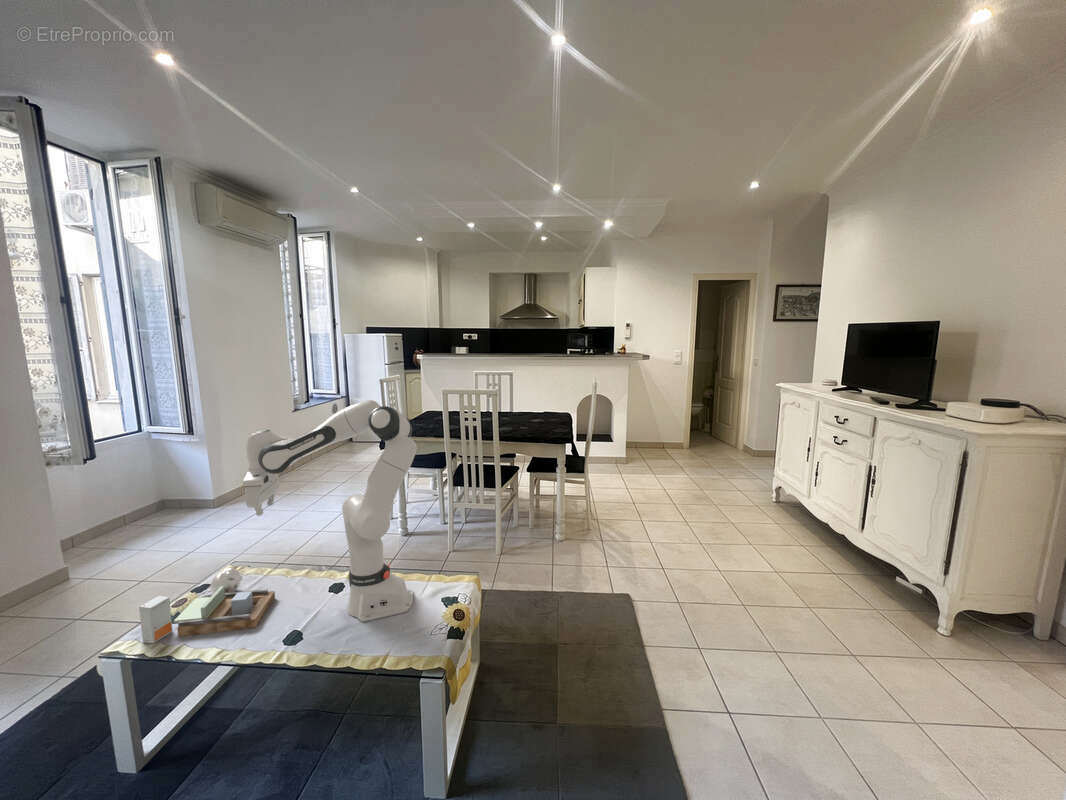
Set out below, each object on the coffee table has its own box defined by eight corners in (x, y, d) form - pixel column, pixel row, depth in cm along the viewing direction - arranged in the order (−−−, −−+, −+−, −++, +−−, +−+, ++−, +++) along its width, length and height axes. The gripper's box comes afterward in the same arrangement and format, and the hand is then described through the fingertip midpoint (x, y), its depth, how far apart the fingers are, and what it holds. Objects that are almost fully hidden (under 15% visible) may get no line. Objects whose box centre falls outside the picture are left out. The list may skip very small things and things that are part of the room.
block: (253, 610, 145) (251, 591, 144) (247, 618, 141) (245, 599, 140) (239, 611, 144) (237, 592, 143) (232, 619, 140) (230, 600, 139)
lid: (225, 597, 146) (224, 586, 146) (206, 619, 135) (204, 607, 134) (195, 600, 144) (194, 589, 144) (173, 623, 133) (172, 610, 132)
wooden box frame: (275, 598, 152) (274, 587, 151) (255, 627, 136) (254, 616, 136) (206, 605, 147) (205, 594, 147) (178, 636, 132) (176, 624, 131)
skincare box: (153, 644, 128) (149, 608, 127) (142, 642, 129) (138, 606, 127) (173, 631, 134) (170, 596, 133) (162, 629, 135) (159, 595, 133)
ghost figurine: (224, 604, 148) (222, 577, 147) (205, 598, 151) (203, 572, 150) (248, 589, 157) (246, 565, 155) (230, 585, 160) (228, 560, 158)
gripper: (265, 465, 162) (267, 499, 164) (240, 483, 142) (243, 521, 144) (282, 465, 163) (285, 498, 165) (260, 482, 143) (263, 520, 145)
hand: (265, 509), depth 154 cm, fingers open, 8 cm apart
